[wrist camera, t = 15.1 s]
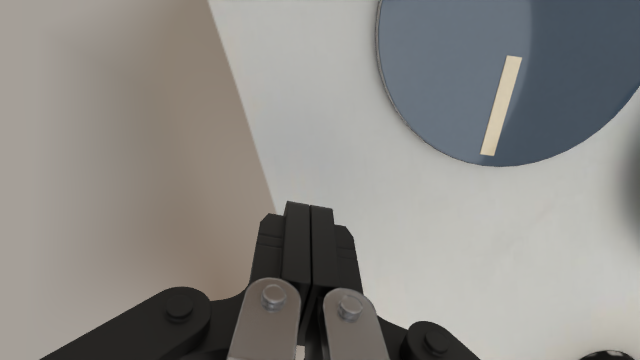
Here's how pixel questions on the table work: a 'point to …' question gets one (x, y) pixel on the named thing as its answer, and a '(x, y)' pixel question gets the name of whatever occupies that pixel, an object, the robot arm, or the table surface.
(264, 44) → the table surface
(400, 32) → the peg stand
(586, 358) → the spotted tube
